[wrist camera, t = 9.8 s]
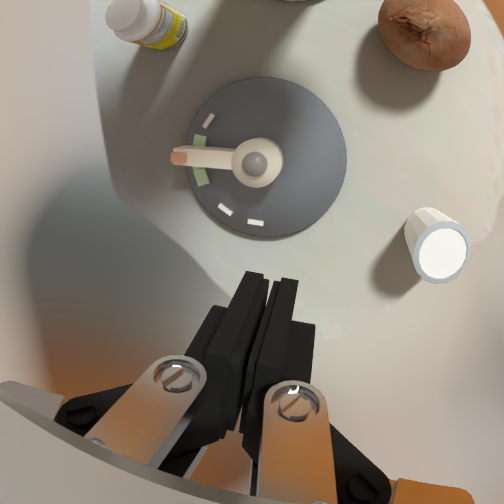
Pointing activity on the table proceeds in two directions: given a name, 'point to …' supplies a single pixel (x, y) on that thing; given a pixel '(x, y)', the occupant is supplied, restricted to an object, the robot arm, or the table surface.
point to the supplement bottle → (147, 23)
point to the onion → (425, 32)
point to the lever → (237, 160)
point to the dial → (294, 149)
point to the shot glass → (437, 245)
